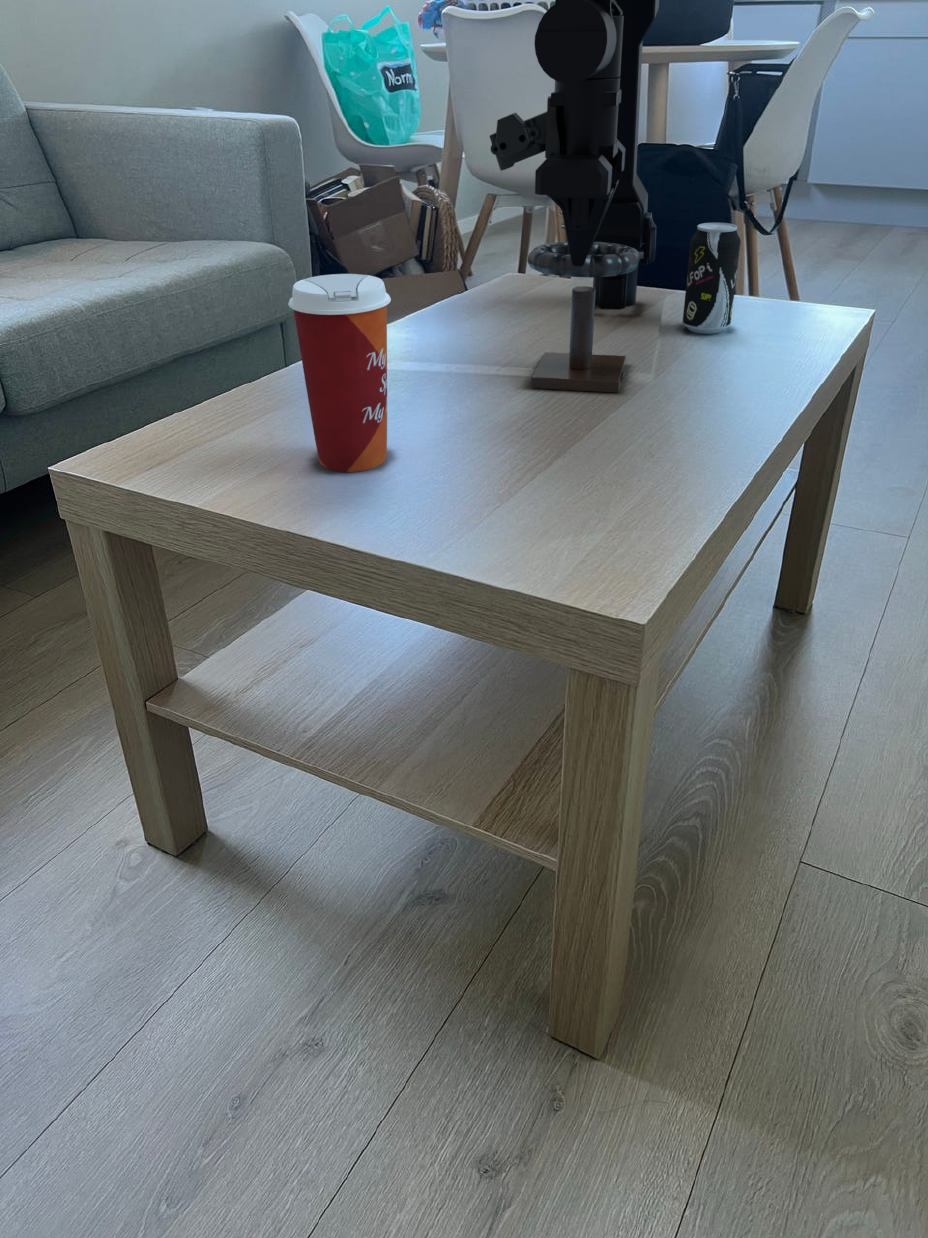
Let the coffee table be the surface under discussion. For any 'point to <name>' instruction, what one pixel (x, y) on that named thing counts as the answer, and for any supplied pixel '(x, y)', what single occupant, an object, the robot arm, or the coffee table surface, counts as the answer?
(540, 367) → the peg stand
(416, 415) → the coffee table surface
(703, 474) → the coffee table surface
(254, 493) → the coffee table surface
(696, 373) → the coffee table surface
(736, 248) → the beverage can
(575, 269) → the ring
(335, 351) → the coffee cup
